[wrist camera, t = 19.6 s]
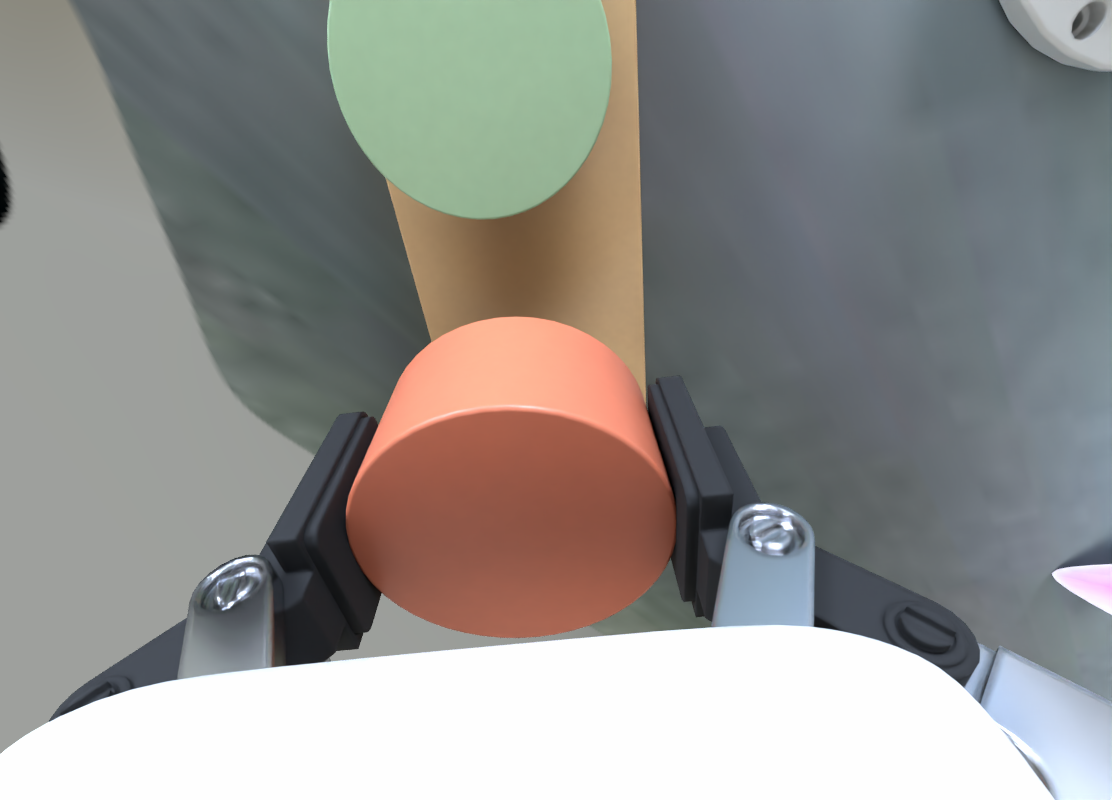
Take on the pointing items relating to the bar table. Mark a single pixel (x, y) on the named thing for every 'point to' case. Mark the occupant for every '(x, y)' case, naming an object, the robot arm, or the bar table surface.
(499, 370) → the terracotta disc
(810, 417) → the bar table surface
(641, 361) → the board
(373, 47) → the sage disc
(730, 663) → the robot arm
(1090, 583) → the lily
